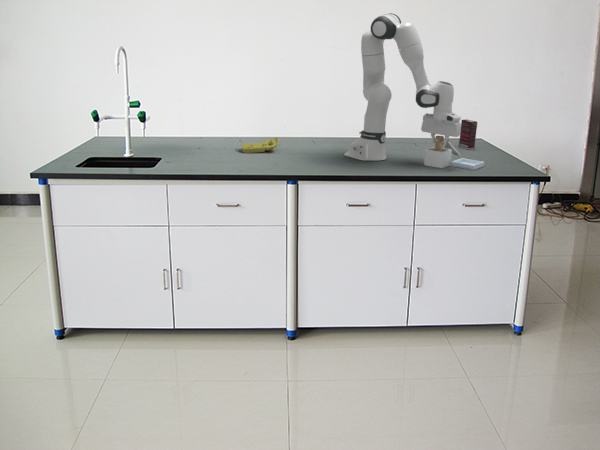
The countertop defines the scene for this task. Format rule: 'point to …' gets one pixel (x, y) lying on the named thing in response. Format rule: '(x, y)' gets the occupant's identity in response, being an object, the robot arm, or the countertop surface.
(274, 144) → the plastic component
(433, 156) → the white open box
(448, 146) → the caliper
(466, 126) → the supplement box
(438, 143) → the dowel
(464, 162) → the tray
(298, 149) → the countertop surface
